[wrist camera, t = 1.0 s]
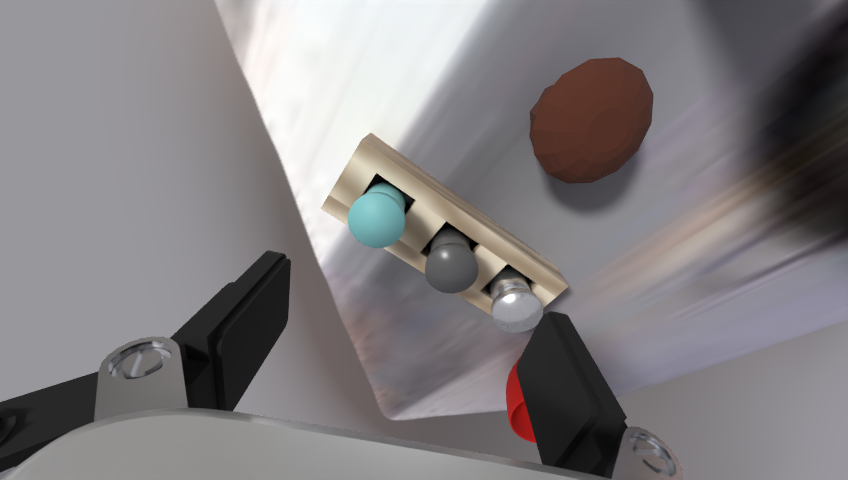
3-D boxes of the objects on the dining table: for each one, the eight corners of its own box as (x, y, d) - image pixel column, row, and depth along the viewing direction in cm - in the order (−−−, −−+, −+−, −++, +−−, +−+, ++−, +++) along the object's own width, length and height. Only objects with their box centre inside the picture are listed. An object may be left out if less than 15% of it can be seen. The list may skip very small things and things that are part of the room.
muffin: (590, 176, 39) (634, 204, 30) (505, 159, 39) (525, 183, 30) (636, 71, 34) (706, 68, 25) (539, 50, 33) (574, 40, 25)
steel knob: (506, 257, 41) (516, 285, 35) (539, 280, 42) (554, 310, 37) (476, 287, 43) (481, 317, 38) (508, 308, 44) (518, 340, 39)
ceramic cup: (584, 319, 50) (615, 371, 41) (566, 389, 57) (589, 445, 49) (502, 319, 51) (515, 370, 42) (496, 388, 58) (506, 443, 49)
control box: (371, 132, 38) (361, 139, 34) (556, 266, 46) (568, 286, 41) (332, 196, 42) (319, 210, 38) (507, 309, 50) (514, 332, 45)
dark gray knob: (445, 215, 38) (446, 238, 33) (482, 241, 40) (489, 267, 34) (417, 249, 41) (414, 275, 35) (453, 272, 42) (455, 301, 37)
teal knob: (377, 168, 36) (366, 183, 30) (419, 197, 37) (415, 217, 32) (352, 207, 38) (337, 228, 33) (392, 233, 40) (384, 257, 34)
